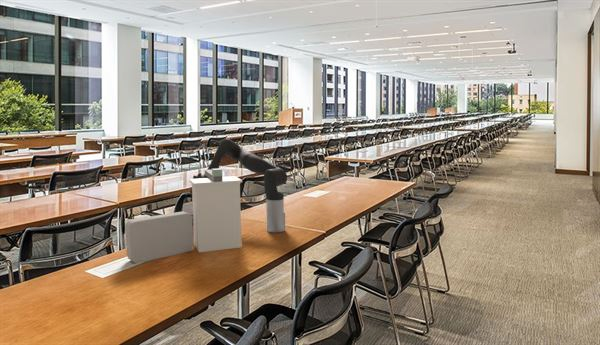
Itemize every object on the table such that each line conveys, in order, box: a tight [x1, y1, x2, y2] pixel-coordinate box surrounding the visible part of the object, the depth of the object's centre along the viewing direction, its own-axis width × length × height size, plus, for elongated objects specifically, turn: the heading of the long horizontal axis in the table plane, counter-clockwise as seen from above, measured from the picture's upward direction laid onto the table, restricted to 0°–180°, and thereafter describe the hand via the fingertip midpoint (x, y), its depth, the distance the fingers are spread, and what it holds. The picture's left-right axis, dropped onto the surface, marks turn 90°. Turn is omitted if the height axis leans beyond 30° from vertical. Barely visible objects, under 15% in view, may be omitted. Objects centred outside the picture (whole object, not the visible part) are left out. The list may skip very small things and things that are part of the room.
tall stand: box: [189, 175, 243, 253], centre depth 213 cm, size 22×14×32 cm, turn 111°
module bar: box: [204, 167, 223, 182], centre depth 215 cm, size 4×24×6 cm, turn 21°
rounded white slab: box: [124, 211, 194, 264], centre depth 201 cm, size 29×8×18 cm, turn 129°
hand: (209, 174), depth 236 cm, fingers open, 8 cm apart
